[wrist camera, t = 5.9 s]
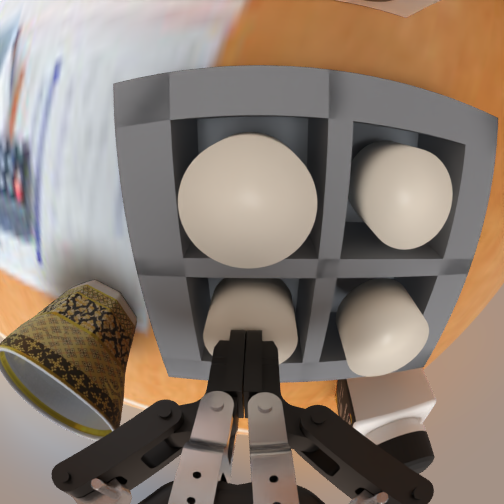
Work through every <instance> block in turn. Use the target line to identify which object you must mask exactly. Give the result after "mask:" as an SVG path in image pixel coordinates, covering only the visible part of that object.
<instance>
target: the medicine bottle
mask: <svg viewBox="0 0 504 504" xmlns="http://www.w3.org/2000/svg"><path fill="white" fill-rule="evenodd" d="M336 403H337V409H338V414H339V417H341V418H342V419H343V420H344V421H346V422H347V423H348V424H349V425H351V426H352V427H353V428H355V429H356V430H357V431H359V432H360V433H361V434H363V435H364V436H365V437H367V438H368V439H369V440H371V441H372V442H373V443H375V444H376V445H377V446H379V447H380V448H381V449H383V450H384V451H386V452H387V453H388V454H390V455H391V456H393V457H394V458H396V459H397V460H398V461H400V462H401V463H403V464H404V465H406V466H407V467H409V468H410V469H412V470H413V471H415V472H416V473H418V474H419V473H421V472H423V471H424V470H425V469H426V468H427V467H428V466H429V465H430V464H431V463H432V462H433V459H434V454H433V451H432V448H431V444H430V441H429V438H428V435H427V432H426V429H425V426H424V425H423V424H422V423H423V421H424V420H425V418H426V417H427V415H428V414H429V413H430V411H431V410H432V408H433V406H434V405H435V403H436V398H435V395H434V393H433V391H432V388H431V386H430V384H429V382H428V379H427V377H426V375H425V373H424V371H423V368H422V367H421V368H416V369H411V370H406V371H400V372H394V373H388V374H385V375H381V376H373V377H367V376H366V377H358V378H349V379H338V382H337V391H336Z"/></svg>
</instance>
